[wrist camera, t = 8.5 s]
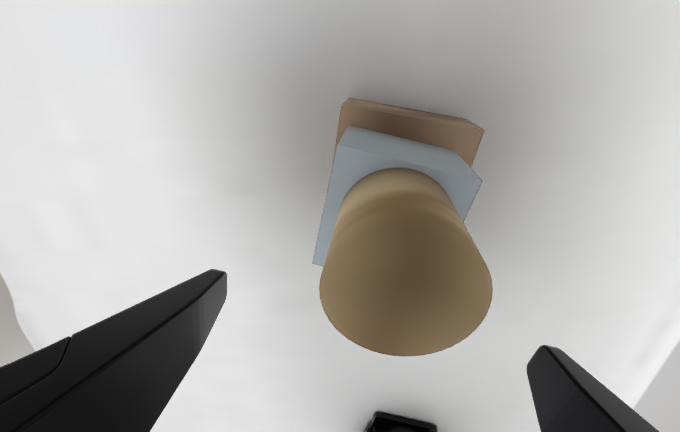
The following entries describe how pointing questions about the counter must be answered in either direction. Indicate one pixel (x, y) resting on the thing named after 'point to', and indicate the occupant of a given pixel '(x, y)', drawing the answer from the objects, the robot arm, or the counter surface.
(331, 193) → the blue-grey square block
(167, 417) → the counter surface
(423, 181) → the tan wooden cylinder
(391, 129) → the walnut base block
